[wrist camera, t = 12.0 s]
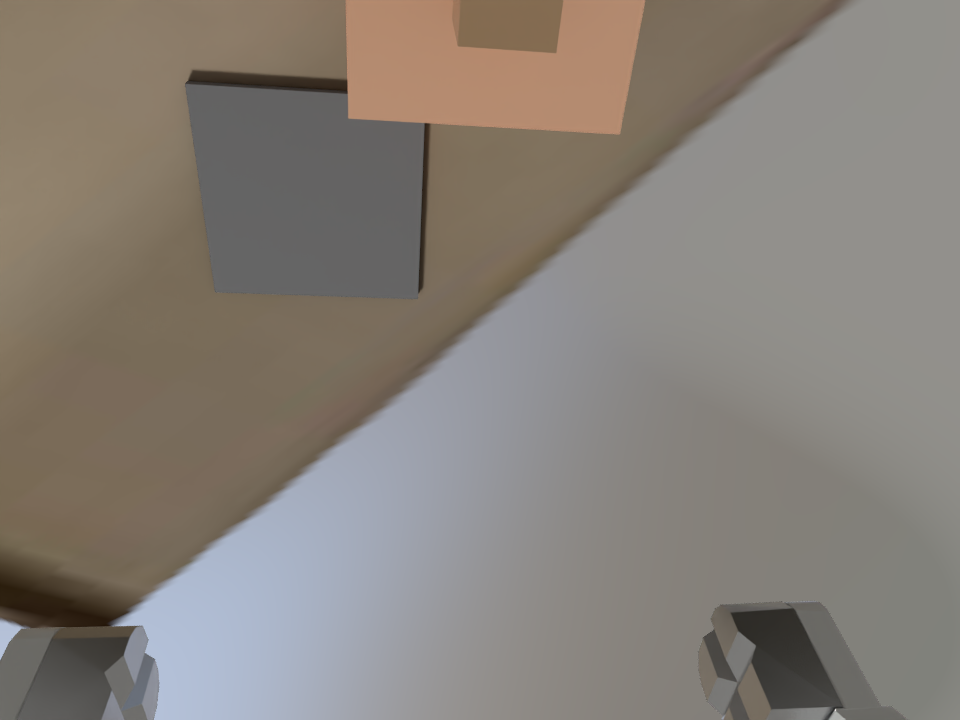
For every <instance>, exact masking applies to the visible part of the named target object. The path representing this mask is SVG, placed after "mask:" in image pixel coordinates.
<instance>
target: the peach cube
mask: <svg viewBox="0 0 960 720" xmlns="http://www.w3.org/2000/svg"><path fill="white" fill-rule="evenodd" d="M644 5H645V0H346V34H347V80H348V119H364V120H381V121H398V122H415V123H433V124H450V125H467V126H484V127H501V128H518V129H535V130H552V131H570V132H587V133H604V134H620V130H621V125H622V120H623V115H624V109H625V104H626V99H627V94H628V88H629V83H630V78H631V73H632V67H633V62H634V57H635V52H636V46H637V41H638V36H639V31H640V26H641V20H642V15H643V10H644Z"/></svg>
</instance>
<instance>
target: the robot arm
mask: <svg viewBox="0 0 960 720" xmlns="http://www.w3.org/2000/svg"><path fill="white" fill-rule="evenodd" d="M711 622H712V624H713V627H714V630H713V631H712V632H710V633H709V634H707V635H706V636H704V637H703V640H702V643H701V645H700V648H699V652H698V659H699V660H698V667H699V674H700V680H701V685H702V688H703V691H704V694H705V697H706V700H707V702H708V703H709V704H710V705H711V706H712V707H713V708H715V709H716V710H717V711H718V712H719V713H720V714H721V715H722V720H908V719H907V718H906V717H904V716H903V715H902V714H901V713H899V712H898V711H897V710H895V709H894V708H893V707H892V706H881V705H880V703H879V701H878V699H877V698H876V696H875V694H874V692H873V690H872V688H871V687H870V685H869V683H868V681H867V680H866V678H865V676H864V674H863V672H862V671H861V669H860V667H859V665H858V663H857V662H856V660H855V658H854V656H853V655H852V653H851V651H850V649H849V647H848V645H847V644H846V642H845V640H844V638H843V637H842V635H841V633H840V631H839V629H838V628H837V626H836V624H835V622H834V620H833V619H832V617H831V615H830V613H829V612H828V610H827V608H826V607H825V606H823V605H822V604H821V603H820V602H817V601H805V602H803V601H802V602H782V601H781V602H764V603H744V604H726V605H720V606H719V607H717V608H715V610H714V612H713V615H712V617H711ZM147 643H148V638H147V636H146V633H145V630H144V628H143V626H115V627H75V628H64V627H57V628H30V629H21V630H20V631H19V632H18V633H17V634H16V635H15V636H14V637H13V639H12V640H11V641H10V642H9V644H8V646H7V648H6V650H5V653H4V654H3V656H2V658H1V660H0V720H154V716H155V712H156V708H157V701H158V692H159V675H158V668H157V665H156V662H155V659H154V658H152V657H150V656H149V655H147V654H146V653H145V650H146V646H147Z"/></svg>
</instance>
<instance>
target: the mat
mask: <svg viewBox="0 0 960 720" xmlns="http://www.w3.org/2000/svg"><path fill="white" fill-rule="evenodd" d="M185 87H186V94H187V101H188V107H189V114H190V121H191V128H192V135H193V142H194V149H195V156H196V163H197V170H198V177H199V184H200V191H201V198H202V205H203V211H204V218H205V225H206V232H207V239H208V246H209V253H210V260H211V267H212V274H213V281H214V288H215V292H222V293H251V294H281V295H311V296H341V297H371V298H401V299H418V284H419V257H420V231H421V204H422V178H423V151H424V124H425V123H415V122H398V121H381V120H364V119H348V91H338V90H322V89H306V88H290V87H274V86H258V85H242V84H226V83H210V82H194V81H187V82H186V83H185Z"/></svg>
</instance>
